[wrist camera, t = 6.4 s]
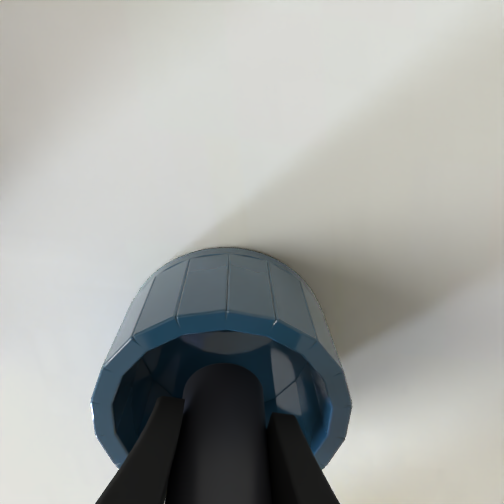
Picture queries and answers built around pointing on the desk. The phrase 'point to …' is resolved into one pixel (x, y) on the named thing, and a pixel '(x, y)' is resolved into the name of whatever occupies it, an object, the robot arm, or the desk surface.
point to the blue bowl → (223, 347)
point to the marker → (221, 440)
